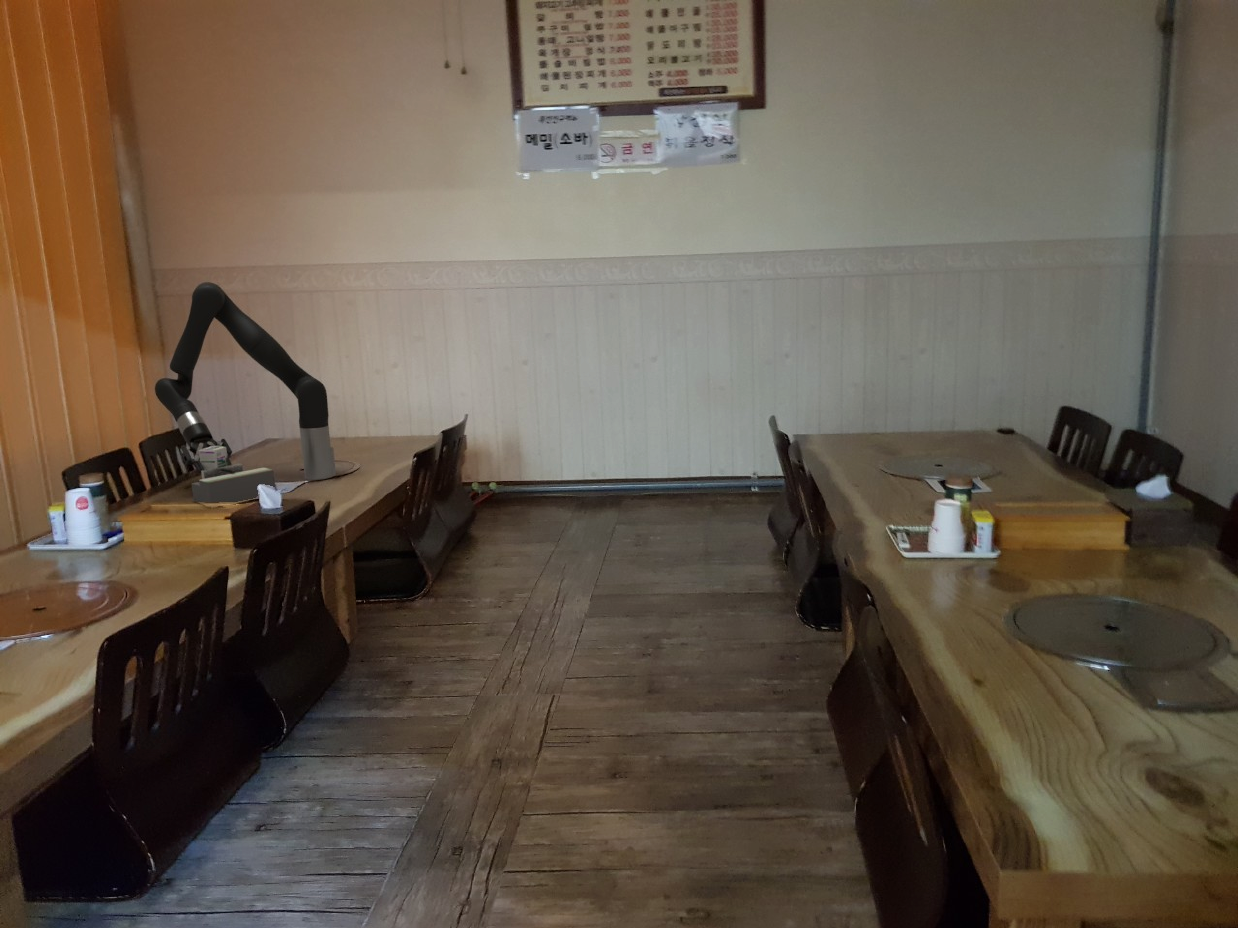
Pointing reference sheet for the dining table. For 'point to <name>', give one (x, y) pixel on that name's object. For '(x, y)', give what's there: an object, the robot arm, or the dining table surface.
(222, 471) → the gauge pad
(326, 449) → the robot arm
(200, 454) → the syrup box
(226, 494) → the block
